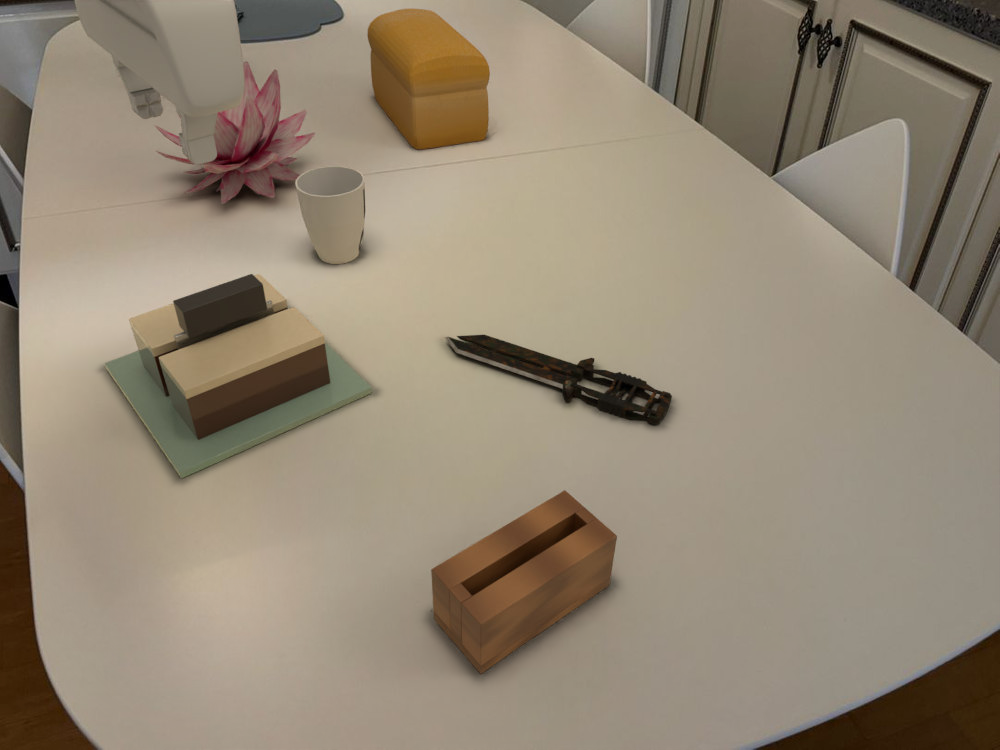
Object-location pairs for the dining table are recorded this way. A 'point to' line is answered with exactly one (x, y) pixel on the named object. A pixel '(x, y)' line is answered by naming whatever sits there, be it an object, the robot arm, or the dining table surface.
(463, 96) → the bread
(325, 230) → the cup
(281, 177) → the decorative flower
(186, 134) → the robot arm
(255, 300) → the metal bench scraper
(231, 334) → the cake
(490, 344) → the knife
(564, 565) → the knife block
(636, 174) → the dining table surface
